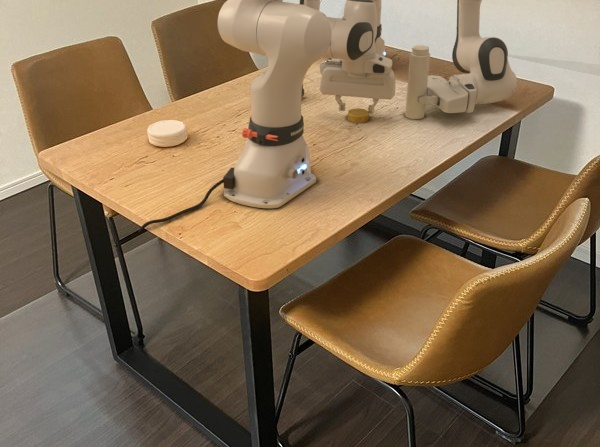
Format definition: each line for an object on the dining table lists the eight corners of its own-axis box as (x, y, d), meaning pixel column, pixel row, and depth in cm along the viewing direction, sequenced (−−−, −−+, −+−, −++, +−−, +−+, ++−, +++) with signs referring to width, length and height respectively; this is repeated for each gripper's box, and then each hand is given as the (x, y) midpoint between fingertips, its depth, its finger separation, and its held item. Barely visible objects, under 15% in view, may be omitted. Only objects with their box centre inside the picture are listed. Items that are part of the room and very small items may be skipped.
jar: (413, 110, 176) (419, 43, 166) (428, 115, 173) (435, 47, 162) (401, 115, 173) (406, 47, 163) (416, 120, 170) (422, 51, 159)
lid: (366, 124, 169) (366, 117, 168) (345, 121, 170) (345, 115, 169) (370, 116, 173) (371, 109, 172) (350, 113, 175) (350, 107, 174)
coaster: (150, 132, 165) (149, 120, 163) (188, 130, 166) (187, 118, 164) (146, 148, 157) (144, 135, 155) (186, 146, 157) (185, 133, 155)
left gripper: (317, 62, 163) (317, 112, 170) (395, 68, 158) (391, 118, 166) (322, 55, 168) (322, 104, 175) (398, 60, 163) (394, 110, 171)
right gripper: (444, 68, 179) (399, 72, 176) (479, 92, 162) (430, 97, 159) (441, 89, 182) (398, 94, 180) (475, 114, 166) (428, 120, 163)
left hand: (356, 111), depth 170 cm, fingers open, 7 cm apart
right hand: (413, 96), depth 169 cm, fingers closed on jar, 5 cm apart
